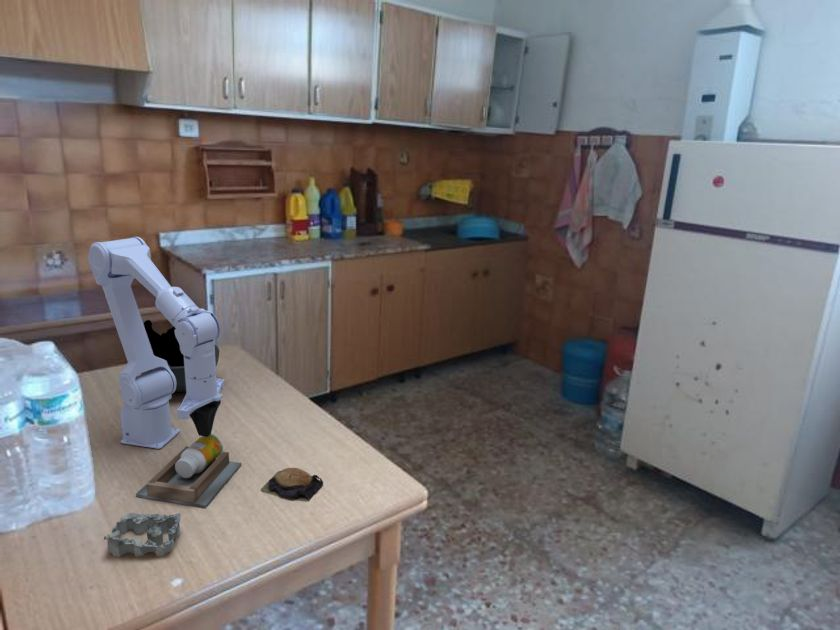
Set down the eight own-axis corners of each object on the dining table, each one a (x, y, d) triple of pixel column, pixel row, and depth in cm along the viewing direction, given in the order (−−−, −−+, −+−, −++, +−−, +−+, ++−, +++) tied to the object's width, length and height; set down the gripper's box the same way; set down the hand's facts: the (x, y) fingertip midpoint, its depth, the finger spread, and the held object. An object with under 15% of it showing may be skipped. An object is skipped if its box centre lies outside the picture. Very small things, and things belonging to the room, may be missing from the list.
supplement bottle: (223, 458, 121) (196, 484, 112) (201, 452, 122) (171, 477, 114) (224, 436, 120) (196, 460, 111) (201, 430, 121) (171, 454, 112)
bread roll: (257, 495, 112) (257, 478, 111) (280, 471, 120) (279, 456, 119) (307, 507, 109) (307, 490, 108) (327, 482, 117) (327, 466, 116)
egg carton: (102, 559, 94) (99, 538, 92) (123, 528, 101) (120, 508, 99) (169, 560, 94) (167, 539, 93) (185, 529, 101) (183, 509, 100)
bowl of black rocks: (236, 379, 159) (233, 314, 153) (189, 411, 140) (183, 339, 134) (173, 367, 163) (168, 304, 158) (120, 397, 145) (112, 326, 139)
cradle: (136, 496, 109) (134, 482, 108) (179, 456, 122) (177, 443, 121) (205, 508, 107) (204, 493, 106) (241, 465, 120) (240, 452, 119)
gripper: (200, 391, 106) (204, 456, 110) (237, 361, 120) (239, 420, 124) (164, 386, 107) (170, 450, 111) (205, 357, 121) (209, 415, 125)
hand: (204, 434), depth 118 cm, fingers closed
